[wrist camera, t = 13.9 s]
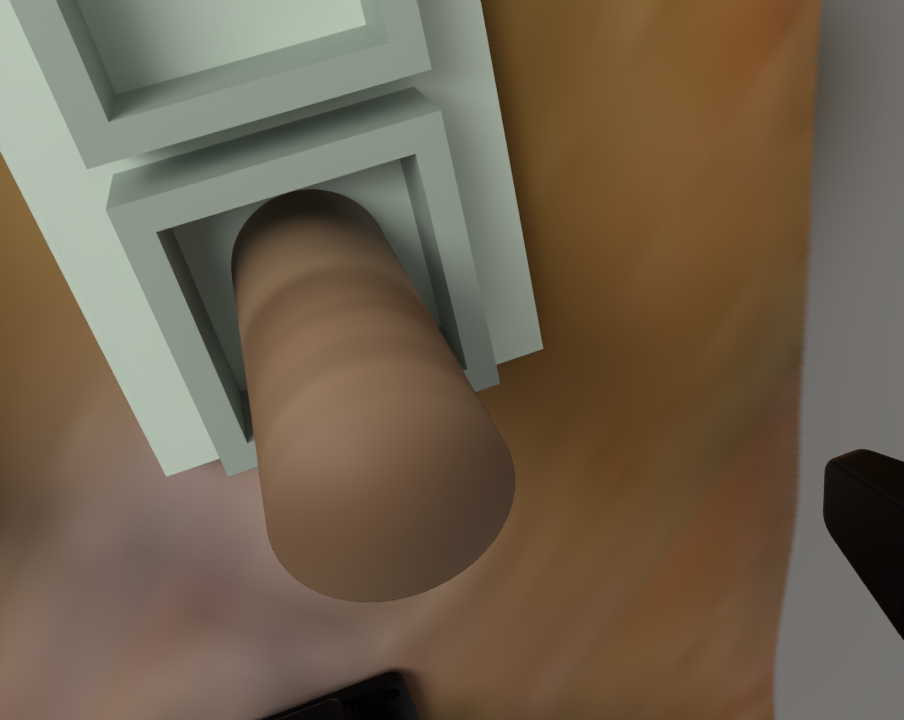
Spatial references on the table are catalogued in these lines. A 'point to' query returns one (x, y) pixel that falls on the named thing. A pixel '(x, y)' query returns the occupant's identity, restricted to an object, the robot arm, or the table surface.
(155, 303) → the build board
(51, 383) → the table surface
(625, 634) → the table surface
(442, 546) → the dowel
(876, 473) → the robot arm
